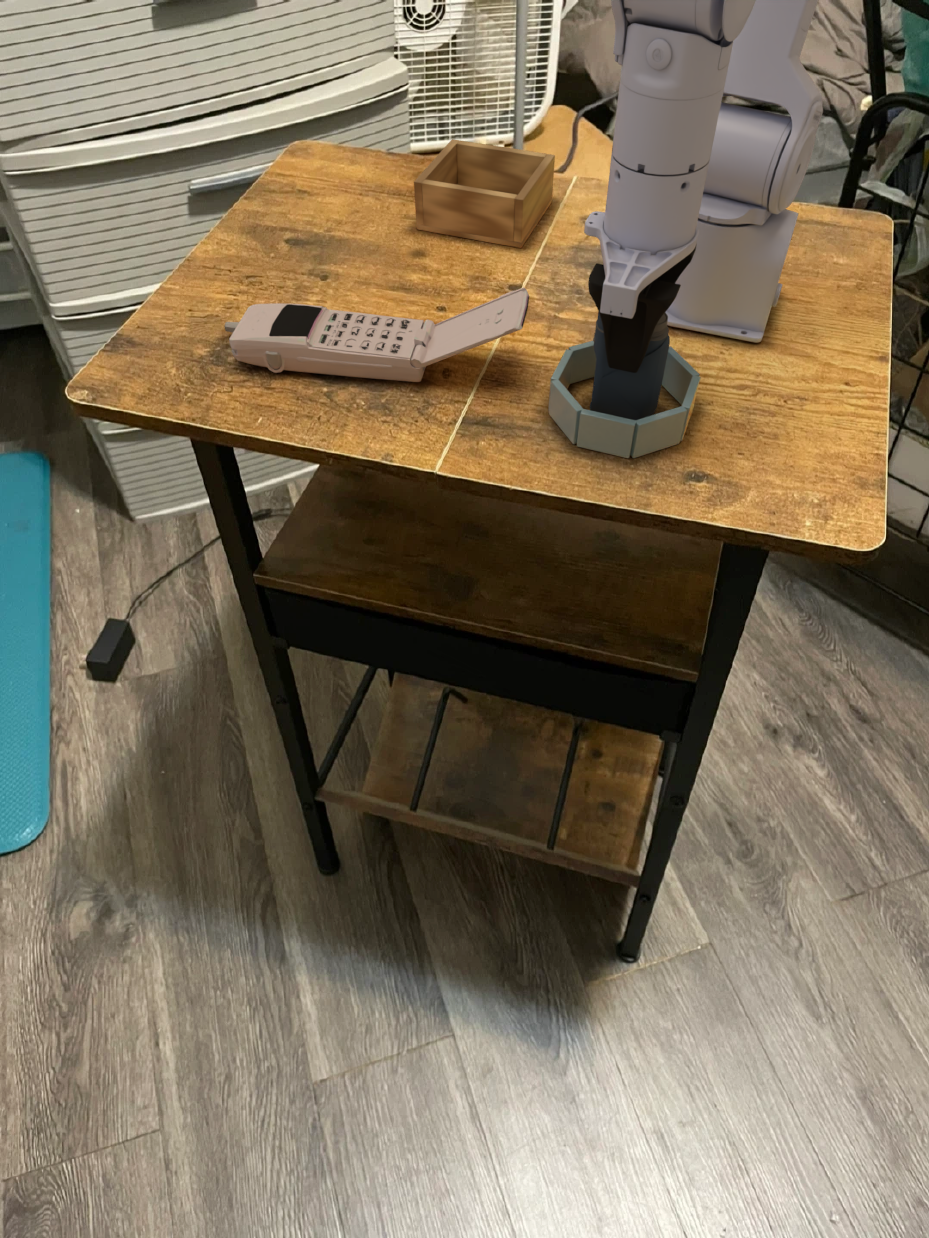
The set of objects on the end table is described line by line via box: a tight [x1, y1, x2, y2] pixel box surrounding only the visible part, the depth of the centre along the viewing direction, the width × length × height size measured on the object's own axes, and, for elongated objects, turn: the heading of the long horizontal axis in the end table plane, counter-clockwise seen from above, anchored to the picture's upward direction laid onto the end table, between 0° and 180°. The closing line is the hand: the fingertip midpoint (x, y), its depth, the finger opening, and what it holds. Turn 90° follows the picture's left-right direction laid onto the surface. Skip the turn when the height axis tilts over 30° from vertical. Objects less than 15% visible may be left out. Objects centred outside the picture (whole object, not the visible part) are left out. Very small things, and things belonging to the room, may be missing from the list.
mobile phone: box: [224, 287, 530, 383], centre depth 67 cm, size 6×6×25 cm
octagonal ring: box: [547, 340, 701, 459], centre depth 64 cm, size 10×10×3 cm
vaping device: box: [589, 310, 671, 420], centre depth 60 cm, size 3×5×12 cm, turn 73°
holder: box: [413, 138, 556, 249], centre depth 82 cm, size 11×10×4 cm
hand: (629, 354), depth 61 cm, fingers closed on vaping device, 3 cm apart
